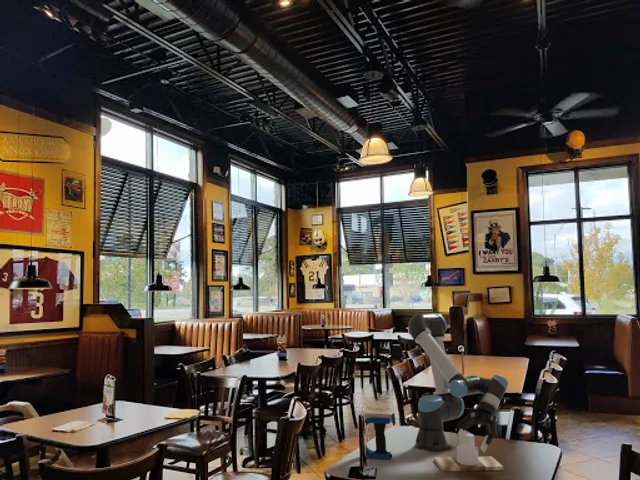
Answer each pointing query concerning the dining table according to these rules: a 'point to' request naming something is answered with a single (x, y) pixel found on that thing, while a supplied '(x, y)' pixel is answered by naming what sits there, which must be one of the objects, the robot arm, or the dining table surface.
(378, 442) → the cordless power drill
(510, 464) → the dining table surface
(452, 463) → the pine board
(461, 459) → the base with upright slab
